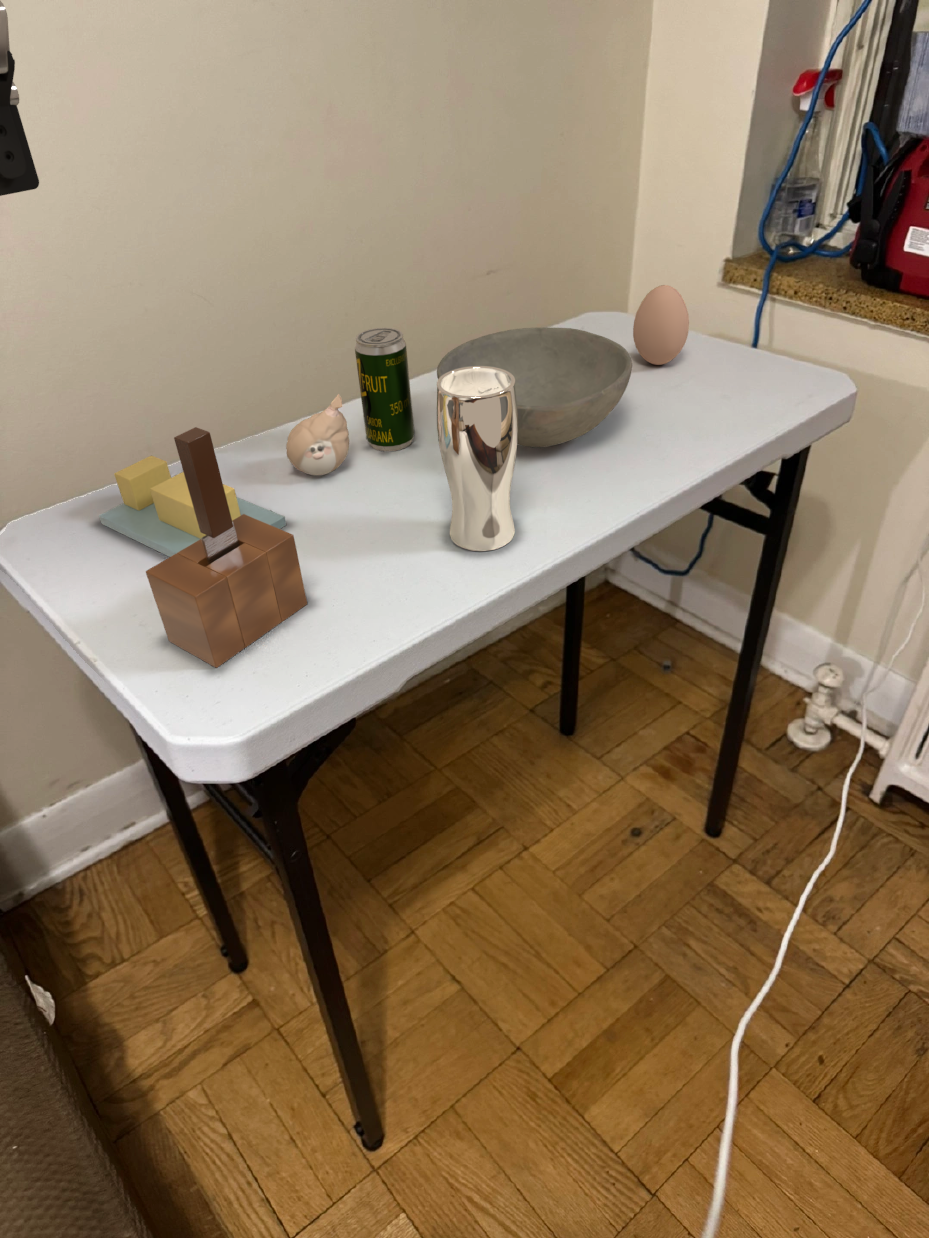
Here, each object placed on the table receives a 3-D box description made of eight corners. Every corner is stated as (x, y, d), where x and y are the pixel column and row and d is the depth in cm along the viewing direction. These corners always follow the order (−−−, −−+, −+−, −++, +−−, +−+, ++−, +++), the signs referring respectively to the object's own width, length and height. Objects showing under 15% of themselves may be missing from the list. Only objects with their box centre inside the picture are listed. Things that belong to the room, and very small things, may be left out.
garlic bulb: (340, 486, 89) (329, 414, 85) (282, 483, 91) (268, 412, 86) (359, 457, 95) (350, 387, 90) (304, 454, 96) (292, 385, 91)
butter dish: (205, 574, 78) (203, 565, 77) (101, 524, 86) (98, 515, 85) (286, 525, 84) (284, 516, 83) (182, 482, 92) (179, 473, 91)
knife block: (216, 668, 68) (194, 596, 63) (168, 641, 71) (144, 571, 66) (307, 604, 74) (293, 534, 69) (259, 581, 77) (243, 513, 72)
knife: (234, 634, 71) (181, 445, 60) (221, 627, 72) (167, 440, 61) (261, 615, 73) (215, 429, 62) (248, 609, 74) (201, 424, 63)
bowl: (667, 444, 93) (674, 373, 88) (495, 493, 87) (492, 419, 82) (566, 378, 109) (568, 314, 104) (413, 415, 102) (407, 349, 97)
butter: (205, 541, 80) (196, 509, 78) (159, 520, 84) (149, 488, 82) (242, 520, 83) (234, 488, 81) (195, 500, 87) (187, 469, 85)
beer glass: (431, 544, 80) (418, 390, 71) (466, 508, 85) (458, 360, 76) (499, 561, 77) (494, 404, 68) (531, 523, 82) (531, 371, 73)
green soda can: (383, 427, 100) (371, 324, 93) (423, 435, 98) (414, 330, 91) (357, 447, 96) (343, 342, 89) (399, 456, 94) (387, 348, 87)
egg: (683, 375, 108) (692, 295, 102) (628, 372, 109) (634, 294, 103) (685, 354, 113) (694, 277, 107) (633, 352, 114) (638, 276, 108)
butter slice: (139, 511, 86) (128, 480, 83) (123, 504, 87) (113, 473, 85) (175, 492, 88) (166, 461, 86) (160, 485, 90) (151, 455, 87)
